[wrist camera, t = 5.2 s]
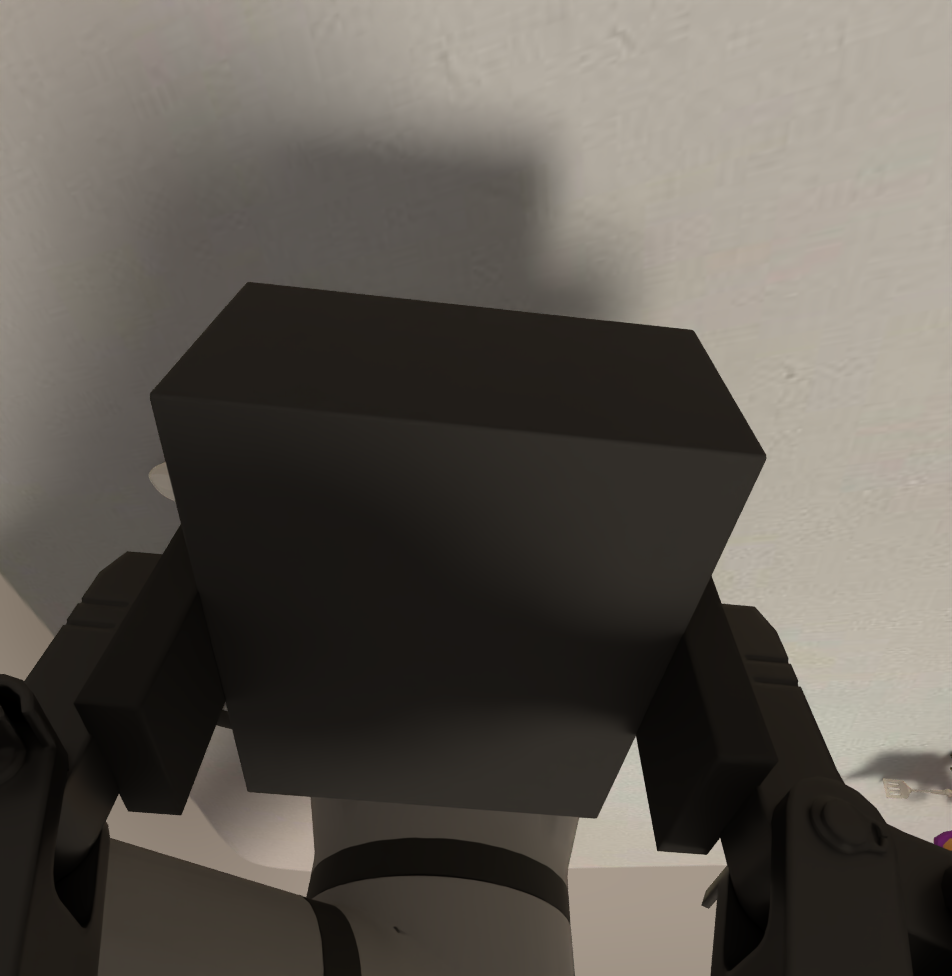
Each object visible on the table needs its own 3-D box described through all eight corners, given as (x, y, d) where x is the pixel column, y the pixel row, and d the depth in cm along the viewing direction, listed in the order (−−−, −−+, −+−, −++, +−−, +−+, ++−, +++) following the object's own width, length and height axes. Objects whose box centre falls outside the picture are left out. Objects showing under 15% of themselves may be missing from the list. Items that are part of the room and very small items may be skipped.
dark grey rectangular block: (572, 610, 17) (597, 819, 13) (311, 587, 17) (246, 792, 12) (667, 283, 12) (769, 456, 7) (281, 240, 11) (146, 394, 7)
